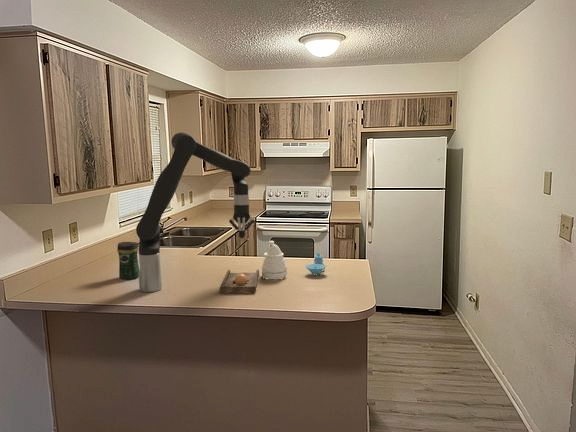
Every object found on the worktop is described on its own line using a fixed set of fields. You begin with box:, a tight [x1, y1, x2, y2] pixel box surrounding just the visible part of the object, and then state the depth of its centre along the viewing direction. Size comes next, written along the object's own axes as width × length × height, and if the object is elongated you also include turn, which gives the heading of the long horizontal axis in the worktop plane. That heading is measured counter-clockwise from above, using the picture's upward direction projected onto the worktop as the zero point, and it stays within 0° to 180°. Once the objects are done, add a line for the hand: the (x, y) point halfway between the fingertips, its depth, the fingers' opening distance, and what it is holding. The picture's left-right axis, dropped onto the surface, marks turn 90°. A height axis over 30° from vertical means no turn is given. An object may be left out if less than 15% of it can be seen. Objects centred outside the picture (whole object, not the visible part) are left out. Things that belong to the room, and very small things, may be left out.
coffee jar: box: [117, 241, 140, 280], centre depth 222 cm, size 10×8×19 cm
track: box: [219, 269, 260, 294], centre depth 211 cm, size 16×28×3 cm, turn 1°
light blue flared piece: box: [305, 252, 327, 275], centre depth 229 cm, size 18×10×9 cm, turn 167°
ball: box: [234, 274, 248, 285], centre depth 207 cm, size 6×6×6 cm
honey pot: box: [261, 240, 288, 279], centre depth 222 cm, size 13×13×18 cm
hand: (242, 237), depth 219 cm, fingers closed
